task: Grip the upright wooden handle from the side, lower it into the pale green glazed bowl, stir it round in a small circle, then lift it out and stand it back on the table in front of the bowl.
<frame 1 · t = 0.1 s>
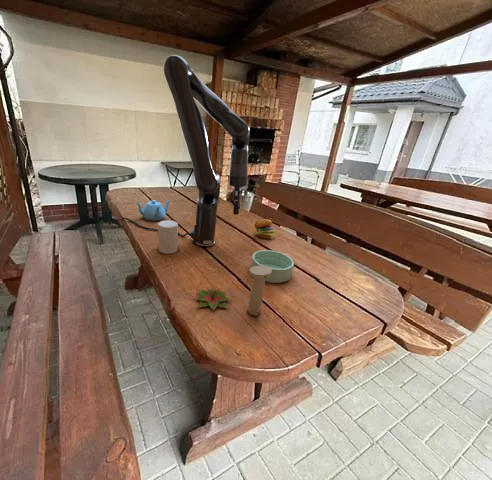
hand: (236, 211, 115), 17 cm above the table, tool pointing down, fingers open, 8 cm apart
handle: (253, 313, 80), on the table
cheeseburger: (263, 235, 137), on the table
pale green bowl: (270, 272, 102), on the table
lily flower: (212, 300, 84), on the table
white cylinder: (167, 249, 115), on the table
teapot: (154, 218, 149), on the table
ice cream bowl: (209, 214, 162), on the table
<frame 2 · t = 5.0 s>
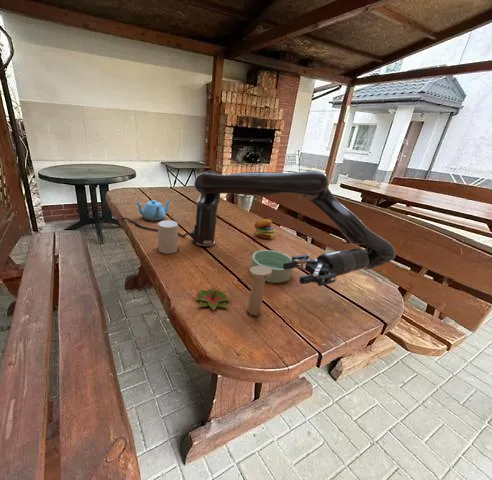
hand: (291, 273, 78), 12 cm above the table, tool horizontal, fingers open, 8 cm apart
nothing on the table moved.
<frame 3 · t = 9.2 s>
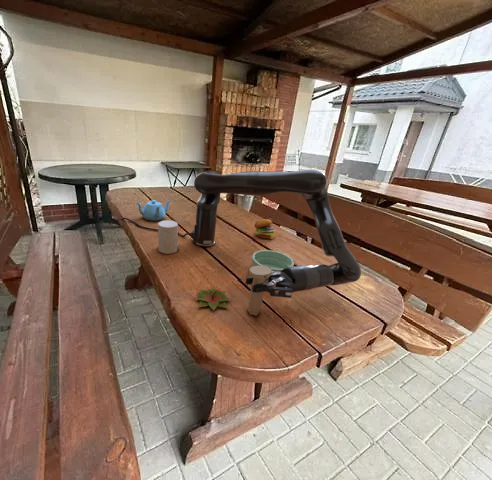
hand: (249, 284, 74), 11 cm above the table, tool horizontal, fingers closed on handle, 3 cm apart
handle: (253, 313, 80), on the table, touching gripper
everything else where it was.
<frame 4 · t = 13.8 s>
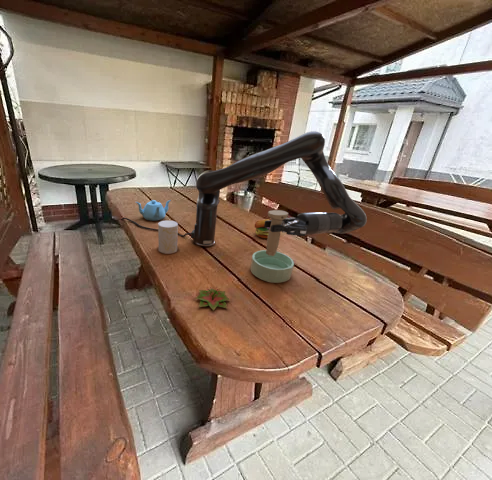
hand: (268, 226, 84), 23 cm above the table, tool horizontal, fingers closed on handle, 3 cm apart
handle: (270, 254, 90), point 12 cm above the table, touching gripper
everything else where it was.
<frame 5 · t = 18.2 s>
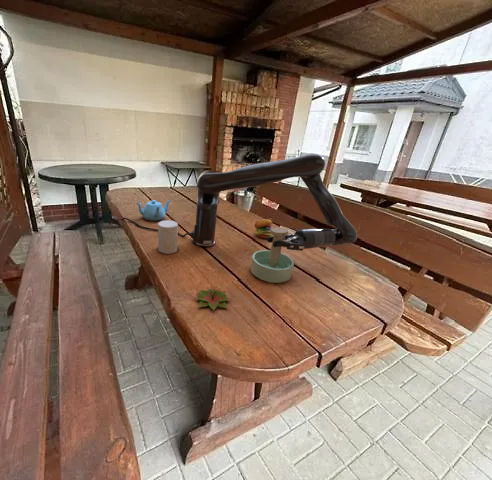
hand: (270, 241, 97), 13 cm above the table, tool horizontal, fingers closed on handle, 3 cm apart
handle: (272, 266, 102), point 2 cm above the table, touching gripper
everything else where it was.
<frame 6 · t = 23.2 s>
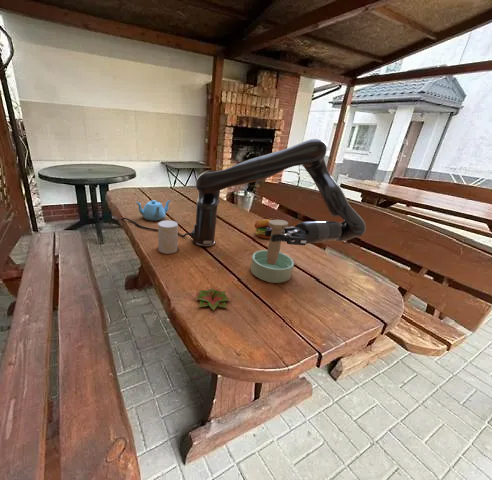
hand: (268, 235, 85), 20 cm above the table, tool horizontal, fingers closed on handle, 3 cm apart
handle: (271, 263, 90), point 9 cm above the table, touching gripper
everything else where it was.
when the fingers open (10 cm above the table, at t = 27.3 s): handle stays where it is, on the table.
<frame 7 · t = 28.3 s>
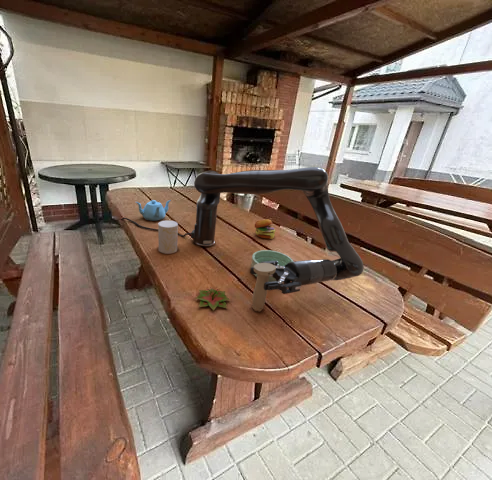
hand: (257, 278, 76), 11 cm above the table, tool horizontal, fingers open, 8 cm apart
handle: (257, 309, 81), on the table
everything else where it was.
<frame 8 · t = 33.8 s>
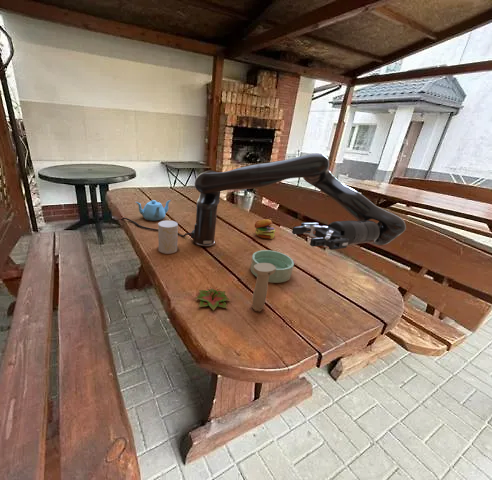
hand: (301, 236, 75), 24 cm above the table, tool horizontal, fingers open, 8 cm apart
nothing on the table moved.
at the end: handle inside the target area on the table beside the pale green bowl (0.1 cm from its centre), on the table; handle tilted 0°; the gripper is holding nothing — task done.
